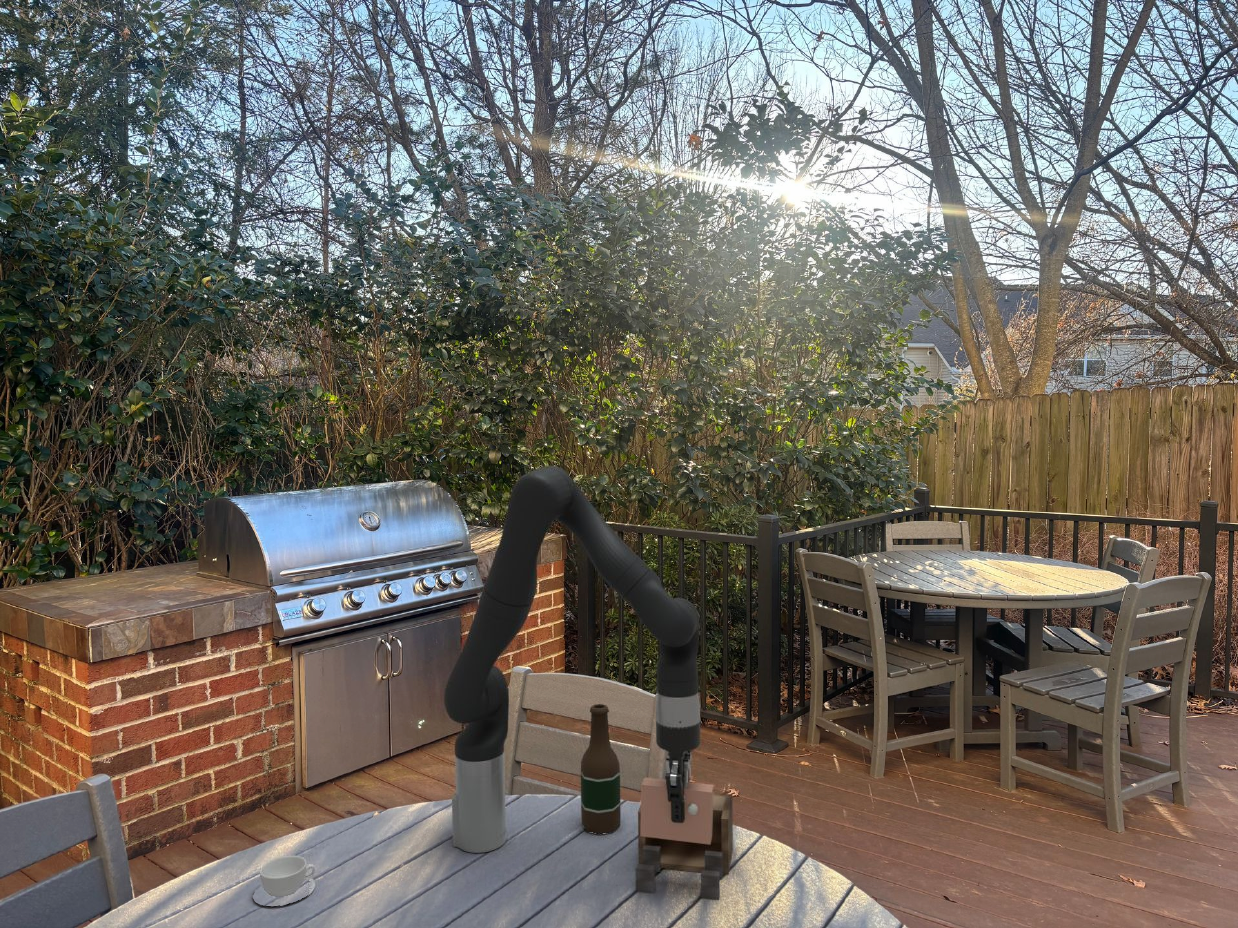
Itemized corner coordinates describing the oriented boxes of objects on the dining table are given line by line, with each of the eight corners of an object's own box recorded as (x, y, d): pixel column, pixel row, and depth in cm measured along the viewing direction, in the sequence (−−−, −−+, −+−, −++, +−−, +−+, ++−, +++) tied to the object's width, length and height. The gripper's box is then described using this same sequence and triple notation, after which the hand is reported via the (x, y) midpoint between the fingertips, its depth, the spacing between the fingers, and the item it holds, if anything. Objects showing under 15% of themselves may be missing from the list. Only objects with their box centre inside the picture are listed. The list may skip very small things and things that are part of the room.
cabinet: (630, 890, 144) (629, 832, 143) (648, 838, 161) (647, 787, 161) (724, 900, 140) (724, 841, 140) (732, 846, 158) (732, 794, 158)
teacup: (254, 915, 138) (253, 887, 138) (251, 886, 147) (250, 859, 147) (319, 899, 143) (318, 872, 142) (312, 871, 152) (311, 846, 151)
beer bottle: (622, 817, 170) (621, 699, 169) (618, 836, 163) (617, 713, 161) (584, 816, 171) (582, 699, 170) (578, 834, 163) (576, 712, 162)
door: (639, 838, 144) (640, 787, 144) (643, 827, 148) (644, 777, 148) (709, 847, 142) (711, 794, 141) (712, 835, 146) (713, 784, 145)
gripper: (694, 733, 137) (696, 838, 138) (704, 705, 150) (705, 800, 151) (649, 731, 138) (650, 834, 139) (662, 703, 152) (664, 797, 153)
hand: (679, 816), depth 145 cm, fingers closed on door, 3 cm apart
